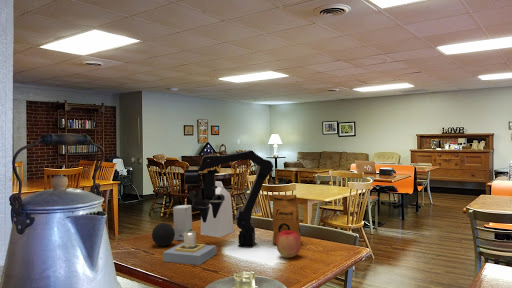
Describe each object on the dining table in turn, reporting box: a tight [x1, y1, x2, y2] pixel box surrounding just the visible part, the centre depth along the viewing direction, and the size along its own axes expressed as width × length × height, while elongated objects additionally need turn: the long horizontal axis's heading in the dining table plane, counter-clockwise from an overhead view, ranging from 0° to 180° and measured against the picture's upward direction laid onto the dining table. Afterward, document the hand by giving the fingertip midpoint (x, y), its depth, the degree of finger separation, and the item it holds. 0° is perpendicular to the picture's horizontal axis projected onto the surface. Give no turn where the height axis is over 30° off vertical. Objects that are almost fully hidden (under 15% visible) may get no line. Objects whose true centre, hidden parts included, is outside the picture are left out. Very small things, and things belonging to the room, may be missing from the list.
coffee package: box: [271, 193, 302, 245], centre depth 168 cm, size 10×12×22 cm
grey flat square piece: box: [162, 242, 218, 266], centre depth 151 cm, size 16×14×4 cm
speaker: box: [151, 222, 175, 247], centre depth 170 cm, size 10×10×10 cm
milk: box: [200, 180, 235, 238], centre depth 190 cm, size 12×12×26 cm
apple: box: [275, 230, 302, 259], centre depth 149 cm, size 10×10×10 cm
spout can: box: [179, 230, 197, 249], centre depth 152 cm, size 7×5×9 cm
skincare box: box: [172, 204, 193, 242], centre depth 181 cm, size 8×7×16 cm
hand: (209, 220), depth 165 cm, fingers open, 9 cm apart
